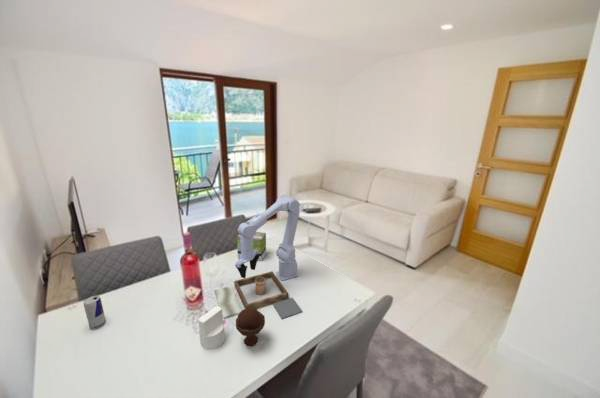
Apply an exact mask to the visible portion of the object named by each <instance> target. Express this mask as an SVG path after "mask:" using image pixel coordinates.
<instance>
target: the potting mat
mask: <svg viewBox="0 0 600 398" xmlns="http://www.w3.org/2000/svg"><path fill="white" fill-rule="evenodd" d="M272 306H273V307H274V309H275V311H276V312H277V314H278V315H279V317H280V319H281V320H283V319H284V320H285V319H287V318H290V317H293V316H296V315H298V314H301V313H303V310H302V308H301V307H300V305H298V302H296V300H295V299H294V297H290V298H288V299H286V300H283V301H280V302H277V303H273V304H272Z"/></svg>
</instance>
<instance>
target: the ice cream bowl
mask: <svg viewBox="0 0 600 398" xmlns="http://www.w3.org/2000/svg"><path fill="white" fill-rule="evenodd" d="M241 310H242V311H241V312H240V313H239V314H238V315H237V318H235V328H236V330H237V331H238V332H239V333H240V334H241V335H242V336H243V337H245V338H244V339H243V344H244V345H245V346H246V347H250V348H251V347H254V346H256V345H257V344H258V342H259V336H257V335H259V334H260V332H261V331H262V330H263V329H264V328H265V324H266V319H265V315H264V314H263V313H261V311H259V310H258V309H253V308H251V309H250V308H247V309H245V308H244V309H241Z"/></svg>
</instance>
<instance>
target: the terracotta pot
mask: <svg viewBox="0 0 600 398" xmlns="http://www.w3.org/2000/svg"><path fill="white" fill-rule="evenodd" d="M266 283H267V279H265V278H264V277H258V278H256V279H255V282H254V284H255V294H256V295H257V296H263V295H265V294H266Z"/></svg>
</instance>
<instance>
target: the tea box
mask: <svg viewBox="0 0 600 398" xmlns="http://www.w3.org/2000/svg"><path fill="white" fill-rule="evenodd" d="M236 245H237V246H236V247H237V249H236V250H237V258H238V259H240V254H241V243H240V234H239V233H238V236H237V237H236ZM253 250H258V254H257V255H258V256H259V259H258V261H257V262H262V261H263V259H264V258H265V256H266V254H267V233H266V232H261V231H256V232H255V234H254V236H253Z"/></svg>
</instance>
